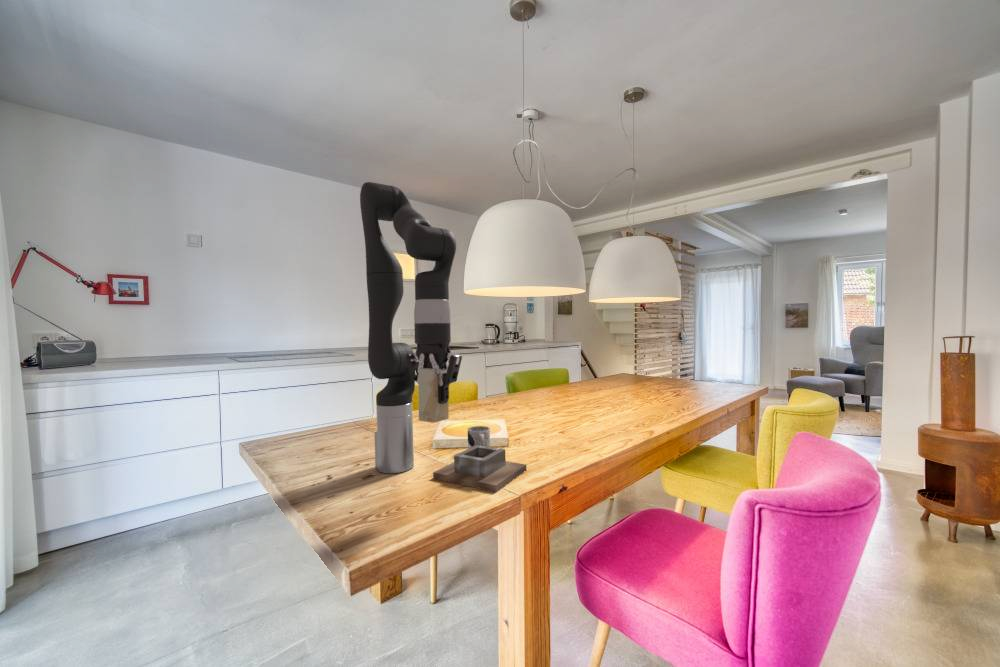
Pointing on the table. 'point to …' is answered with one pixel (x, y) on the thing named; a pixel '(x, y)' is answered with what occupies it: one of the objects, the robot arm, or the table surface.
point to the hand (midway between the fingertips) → (433, 401)
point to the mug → (478, 436)
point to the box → (430, 397)
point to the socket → (481, 469)
